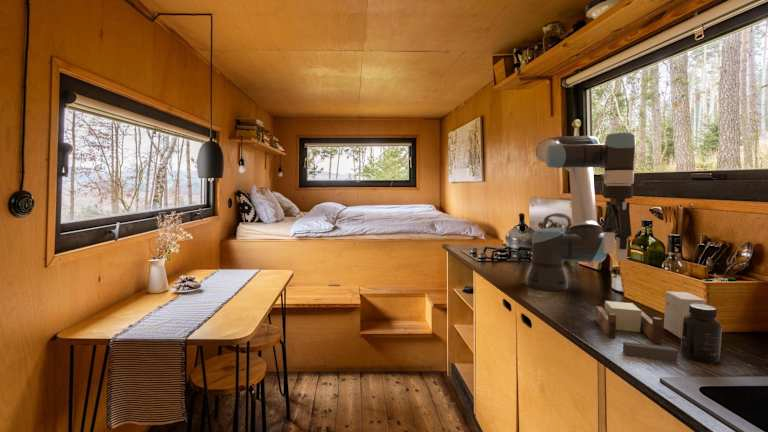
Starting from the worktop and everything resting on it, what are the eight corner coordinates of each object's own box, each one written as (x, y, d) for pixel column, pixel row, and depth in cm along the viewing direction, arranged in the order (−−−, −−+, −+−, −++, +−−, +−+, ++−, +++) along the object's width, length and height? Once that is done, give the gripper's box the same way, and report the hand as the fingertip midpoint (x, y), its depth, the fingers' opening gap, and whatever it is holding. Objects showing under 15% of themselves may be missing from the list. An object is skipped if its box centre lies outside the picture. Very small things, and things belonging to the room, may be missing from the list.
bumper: (622, 352, 87) (623, 341, 87) (673, 358, 84) (673, 347, 84) (625, 355, 85) (626, 345, 85) (677, 362, 82) (677, 351, 82)
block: (603, 320, 108) (604, 300, 108) (631, 323, 106) (632, 303, 106) (610, 329, 102) (611, 308, 101) (640, 332, 100) (641, 310, 99)
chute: (595, 319, 109) (596, 299, 109) (640, 323, 105) (641, 303, 105) (608, 337, 96) (609, 314, 95) (660, 343, 92) (662, 319, 92)
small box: (704, 340, 94) (707, 300, 93) (680, 339, 95) (682, 299, 94) (686, 329, 102) (688, 292, 101) (663, 327, 103) (665, 290, 102)
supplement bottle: (672, 351, 87) (675, 301, 87) (699, 350, 88) (702, 301, 87) (699, 365, 81) (702, 311, 80) (728, 364, 81) (732, 310, 80)
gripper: (594, 185, 123) (591, 249, 124) (616, 184, 99) (611, 263, 101) (619, 185, 120) (616, 250, 122) (648, 184, 97) (643, 264, 99)
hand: (614, 256), depth 112 cm, fingers open, 12 cm apart
